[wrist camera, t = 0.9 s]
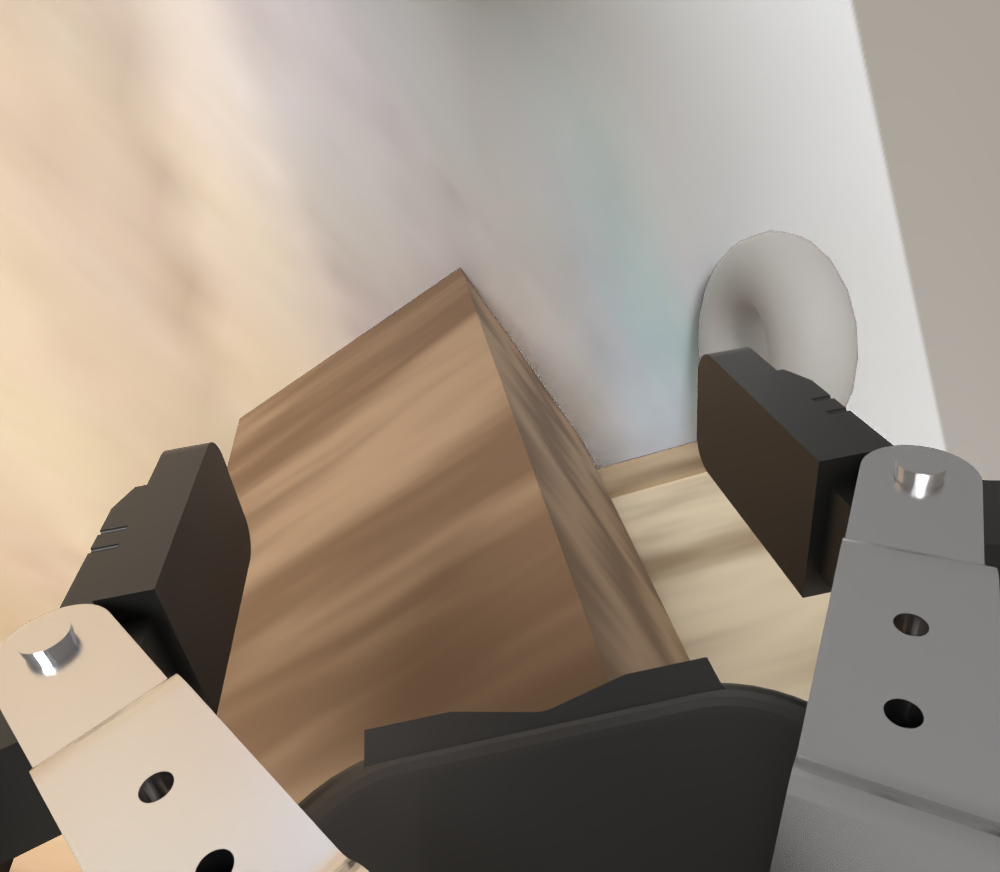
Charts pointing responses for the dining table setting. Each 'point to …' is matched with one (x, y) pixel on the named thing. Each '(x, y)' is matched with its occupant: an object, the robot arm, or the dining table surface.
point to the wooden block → (716, 574)
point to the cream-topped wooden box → (423, 546)
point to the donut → (783, 310)
